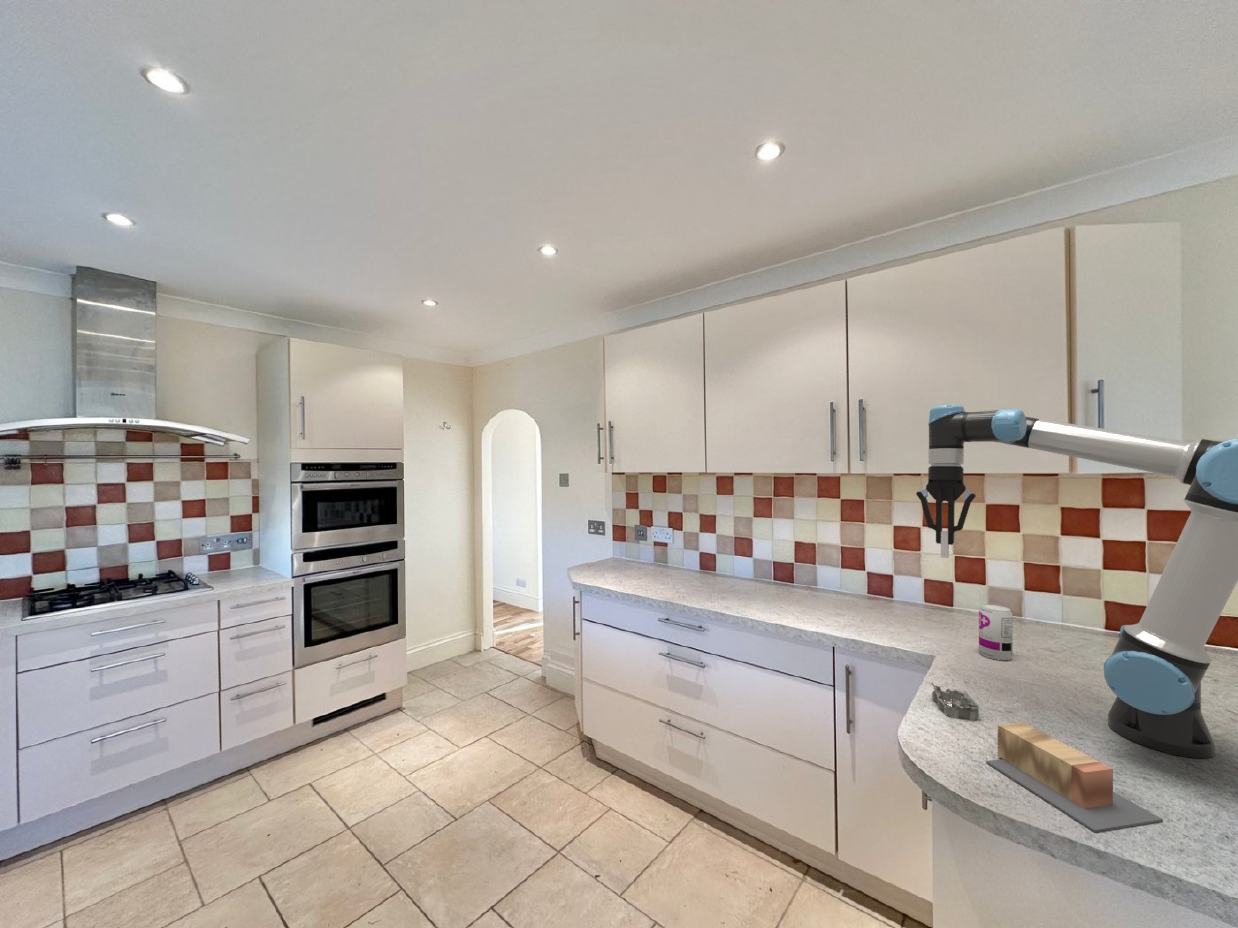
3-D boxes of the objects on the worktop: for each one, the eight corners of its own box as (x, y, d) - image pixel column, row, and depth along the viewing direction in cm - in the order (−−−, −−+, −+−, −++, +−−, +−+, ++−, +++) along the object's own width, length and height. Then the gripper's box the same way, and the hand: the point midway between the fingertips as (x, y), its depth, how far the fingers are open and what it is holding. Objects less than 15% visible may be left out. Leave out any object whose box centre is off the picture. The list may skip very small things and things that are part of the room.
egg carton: (928, 697, 120) (929, 681, 120) (963, 702, 118) (963, 685, 118) (944, 718, 110) (944, 700, 110) (983, 723, 108) (983, 705, 108)
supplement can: (984, 659, 145) (984, 609, 145) (974, 649, 153) (975, 602, 153) (1017, 663, 142) (1017, 612, 143) (1005, 653, 150) (1006, 605, 150)
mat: (986, 762, 93) (986, 760, 93) (1044, 755, 95) (1044, 753, 95) (1094, 832, 75) (1094, 829, 75) (1162, 821, 78) (1162, 818, 78)
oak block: (997, 724, 95) (1084, 772, 80) (1022, 722, 96) (1113, 768, 81) (997, 755, 95) (1084, 808, 80) (1022, 752, 96) (1112, 804, 81)
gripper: (977, 466, 123) (976, 558, 123) (918, 465, 131) (917, 551, 131) (976, 465, 117) (975, 562, 117) (914, 465, 125) (913, 555, 125)
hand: (944, 556), depth 124 cm, fingers closed
